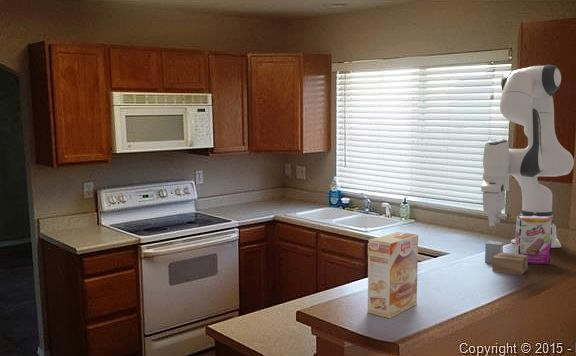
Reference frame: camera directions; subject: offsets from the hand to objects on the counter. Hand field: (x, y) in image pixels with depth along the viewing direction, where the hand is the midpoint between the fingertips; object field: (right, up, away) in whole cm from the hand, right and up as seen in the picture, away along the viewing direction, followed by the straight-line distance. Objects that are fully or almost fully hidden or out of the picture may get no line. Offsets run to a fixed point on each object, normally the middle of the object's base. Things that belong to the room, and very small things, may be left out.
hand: (494, 224), depth 199 cm
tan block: (+2, -15, -10) cm, 18 cm away
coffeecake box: (-45, -19, -49) cm, 69 cm away
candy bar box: (+14, -14, +1) cm, 19 cm away
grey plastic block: (0, -14, +2) cm, 14 cm away
